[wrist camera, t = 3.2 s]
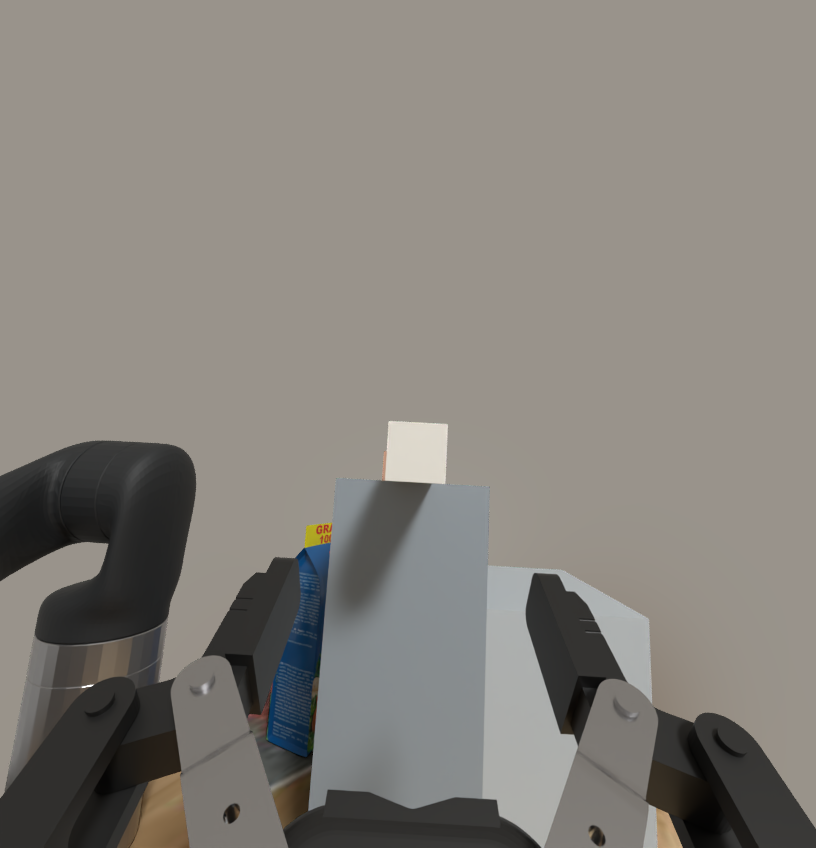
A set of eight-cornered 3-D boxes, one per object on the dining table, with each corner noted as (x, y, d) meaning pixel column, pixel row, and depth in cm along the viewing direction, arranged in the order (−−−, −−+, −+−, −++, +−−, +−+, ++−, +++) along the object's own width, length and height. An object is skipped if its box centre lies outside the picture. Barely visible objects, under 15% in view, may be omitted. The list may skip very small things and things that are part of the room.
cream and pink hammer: (384, 480, 43) (386, 454, 43) (438, 483, 43) (439, 457, 43) (354, 478, 19) (359, 419, 19) (475, 485, 19) (477, 425, 19)
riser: (339, 770, 41) (361, 479, 46) (563, 785, 41) (562, 490, 45) (296, 952, 25) (336, 477, 30) (662, 977, 25) (644, 495, 30)
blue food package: (264, 741, 45) (286, 523, 49) (326, 693, 56) (340, 517, 59) (307, 760, 42) (327, 528, 46) (363, 705, 53) (375, 521, 57)
